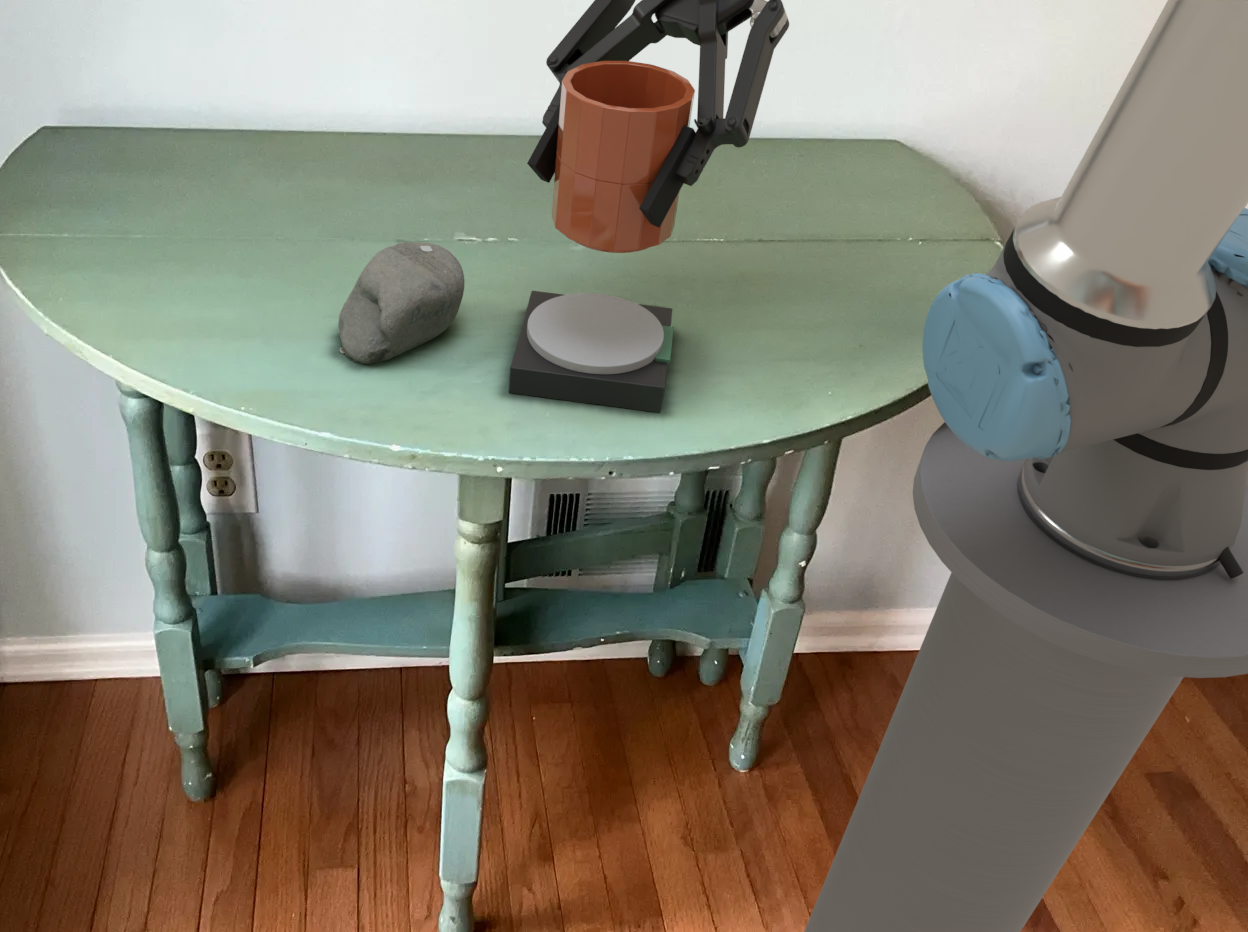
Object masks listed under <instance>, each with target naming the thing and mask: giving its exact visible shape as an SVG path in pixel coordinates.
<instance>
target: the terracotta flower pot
mask: <svg viewBox="0 0 1248 932" xmlns="http://www.w3.org/2000/svg"><path fill="white" fill-rule="evenodd" d="M695 94H696V89H695V88H694V87H693V85H692V84H691V82H690V80H689V79H687V78H686V77H684V76H682V75H680V73H679V74H678V73H677V72H675V71H673V70H671V69H668V68H664V67H661V66H657V65H655V64H651V63H644V62H636V61H631V60H629V61H599V62H593V63H587V64H582V65H580V66H578V67H576V68H573V69H571V70H569V71H568V72H567V73H566V75H565V77H564V78H563V80H562V89H561V102H560V115H559V127H558V140H557V153H556V166H555V173H554V180H553V192H552V204H551V206H552V207H551V219H552V221H553V224H554V228H555V229H556V230H557V231H559V232H560V233H561V234H562V235H563V236H565V237H566V238H567V239H569V240H571V241H572V242H575V243H576V244H578V245H580V246H583V247H585V248H587V249H590V250H594V251H598V252H602V253H603V252H604V253H613V254H626V253H629V254H630V253H635V252H641V251H644V250H648V249H650V248H653V247H657V246H660V245H661V244H663V243H664V242H665V241H666V240H668V239H670V238H671V237H672V235H673V231H674V228H675V224H676V217H677V216H676V215H677V211H678V204H679V199H680V198H679V197H680V191H681V190H680V191H679V193H678V195H677V197H676V198H675V200H674V202H673V204H672V206H671V208H670V209H669V211H668V213H667V215H666V217H665V219H664V220H663V222H662V224H661V226H660V228H659V227H657V226H654V225H652V224H650V222H649V221H648V220H647V218H646V217H645V216H644V214H643V213H642V211H641V210H640V209H639V208H640V206H641V204H642V202H643V200H644V198H645V197H646V195H647V193H648V191H649V189H650V187H651V186H652V184H653V182H654V180H655V178H656V176H657V174H658V173H659V171H660V169H661V167H662V165H663V163H664V162H665V160H666V158H667V156H668V154H669V152H670V151H671V149H672V147H673V145H674V143H675V141H676V140H677V138H678V136H679V134H680V132H681V130H682V129H683V127H684V125H685V126H688V127H690V125H691V120H692V113H693V106H694V100H695ZM690 128H691V127H690Z"/></svg>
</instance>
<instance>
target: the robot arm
mask: <svg viewBox="0 0 1248 932" xmlns="http://www.w3.org/2000/svg"><path fill="white" fill-rule="evenodd" d="M635 2H636V0H593V2H592V3H591V4H590V5H589V6H588V8H587V9H586V10H585V11H584V13H582V15H581V16H580V17H579V19H578V20H577V21H576V22H575V24H574V25H573V26H572V27H571V28H570V30H569V31H568V32H567V34H565V36H564V37H563V38H562V40H560V42H559V43H558V44H557V46H556V47H555V48H554V49H553V50H552V52H551V53H549V55H548V57H546V62H545V63H546V66H547V67H548V69H549V70H550V72H551V73H552V74H553V76H554V77H555V79H556V81H557V82H558V83H559V86H558V88H557V90H556V92H555V94H554V95H553V97H552V99H551V101H550V103H549V105H548V107H547V109H546V110H545V112H544V113H543V116H542V122H541V123H542V125H543V126H544V127H545V130H544V131H543V133H542V135H541V137H540V139H539V141H538V143H537V144H536V146H535V148H534V150H533V152H532V153H531V156H530V157H529V159H528V161H527V163H526V164H527V165H528V166H529V168H530V169H531V170H532V171H533V172H534V173H535V175H536V176H537V177H538V178H539V179H540V180H541V181H543V182H546V183H548V184H550V182H551V180H552V179H553V176H555V166H556V153H557V140H558V127H559V115H560V102H561V89H562V80H563V78H564V77H565V75H566V73H567V72H568V71H569V70H571V69H573V68H576V67H578V66H580V65H582V64H587V63H593V62H599V61H631V60H633V58H634V57H636V56H637V55H638V54H639V53H640V52H642V51H643V50H644V49H645V48H647V47H648V46H649V45H651V44H658V43H660V42H661V41H662V40H663V39H665V38H666V37H667V36H668V37H672V38H675V39H686V40H688V41H689V42H690V43H692V44H694V45H697V46H699V61H698V63H699V65H698V86H697V87H698V89H697V91H698V92H697V112H696V113H697V115H696V117H697V118H694V120H693V121H694V124H695V125H696V128H697V129H696V130H695V129H694V127H688V126H685V125H684V127H683V129H682V130H681V132H680V134H679V136H678V138H677V140H676V141H675V143H674V145H673V147H672V149H671V151H670V152H669V154H668V156H667V158H666V160H665V162H664V163H663V165H662V167H661V169H660V171H659V173H658V174H657V176H656V178H655V180H654V182H653V184H652V186H651V187H650V189H649V191H648V193H647V195H646V197H645V198H644V200H643V202H642V204H641V206H640V208H639V209H640V210H641V211H642V213H643V214H644V216H645V217H646V218H647V220H648V221H649V222H650V224H652V225H654V226H657V227H659V228H660V226H661V224H662V222H663V220H664V219H665V217H666V215H667V213H668V211H669V209H670V208H671V206H672V204H673V202H674V200H675V198H676V197H677V195H678V193H679V194H680V192H679V191H681V190H682V187H683V185H687V186H689V187H692V186H693V185H694V184H696V183H697V182H698V180H699V178H700V176H701V174H702V173H703V171H704V169H705V167H706V165H707V164H708V161H709V160H710V159H711V156H712V155H713V154H714V153H713V152H714V151H715V150H716V149H717V148H718V147H720V146H723V145H733V146H734V147H735V148H743V147H745V146H746V145H747V144H748V143H749V141H750V137H751V133H752V129H753V127H754V123H755V120H756V116H757V113H758V109H759V104H760V101H761V98H762V94H763V90H764V87H765V85H766V79H767V76H768V73H769V70H770V66H771V63H772V59H773V55H774V51H775V50H776V48H777V46H778V44H779V43H780V41H782V39H783V37H784V35H785V34H786V33H787V31H788V30H789V27H790V20H789V18H788V14H787V11H786V9H785V7H784V3H783V1H782V0H768V1H767V0H640V1H639V2H638V3H637V4H636V5H635V6H634V4H635ZM633 6H634V7H633ZM632 8H633V9H632ZM631 9H632V13H631V14H630V15H629V16H628V17H626V15H627V14H628V13H629V12H630V10H631ZM653 16H654V17H655V18H656V21H653V18H652V17H653ZM625 17H626V18H625ZM624 18H625V19H624ZM749 19H750V20H749ZM622 20H623V21H622ZM747 20H749V26H750V30H749V33H748V36H747V39H746V43H745V47H744V50H743V53H742V57H741V60H740V64H739V67H738V71H737V75H736V77H735V82H734V86H733V88H732V92H731V95H730V99H729V102H728V106H727V109H726V113H725V117H724V108H725V79H726V61H727V59H728V50H729V49H728V47H729V32H730V31H732V30H733V29H735V28H737V27H738V26H740V25H742V24H743V23H744V22H746V21H747ZM1247 205H1248V0H1166V3H1165V5H1164V6H1163V8H1162V10H1161V12H1160V14H1159V16H1158V17H1157V19H1156V21H1155V23H1154V25H1153V26H1152V29H1151V31H1150V32H1149V34H1148V36H1147V38H1146V40H1145V42H1144V43H1143V45H1142V47H1141V49H1140V51H1139V53H1138V55H1137V56H1136V58H1135V60H1134V62H1133V64H1132V66H1131V67H1130V70H1129V71H1128V73H1127V74H1126V77H1125V79H1124V80H1123V82H1122V84H1121V85H1120V87H1119V89H1118V91H1117V93H1116V95H1115V96H1114V99H1113V101H1112V102H1111V104H1110V106H1109V108H1108V110H1107V111H1106V113H1105V115H1104V117H1103V118H1102V121H1101V122H1100V125H1099V126H1098V128H1097V130H1096V131H1095V134H1094V135H1093V138H1092V139H1091V141H1090V143H1089V145H1088V147H1087V148H1086V150H1085V152H1084V154H1083V156H1082V158H1081V159H1080V161H1079V163H1078V165H1077V167H1076V169H1075V170H1074V172H1073V174H1072V175H1071V178H1070V180H1069V182H1068V183H1067V185H1066V187H1065V189H1064V191H1063V193H1062V194H1061V196H1059V197H1058V196H1057V197H1055V198H1050V199H1047V200H1043V201H1040V202H1038V203H1035V204H1034V205H1032V206H1030V207H1029V208H1027V209H1026V210H1025V211H1024V212H1023V213H1022V214H1021V215H1020V217H1019V218H1018V220H1017V221H1016V223H1015V225H1014V227H1013V229H1012V231H1011V233H1010V235H1009V237H1008V239H1007V241H1006V242H1005V244H1004V245H1003V248H1002V250H1001V252H1000V253H999V255H998V258H997V259H996V261H995V263H994V264H993V267H992V268H991V269H990V270H988V271H987V272H985V273H979V272H978V273H977V272H972V273H970V274H966V275H963V276H961V277H960V278H959V279H957V280H954V281H952V282H950V283H948V284H947V285H946V286H944V287H943V288H942V289H941V290H940V291H939V292H938V294H937V295H936V296H935V298H934V299H933V300H932V302H931V305H930V307H929V308H928V311H927V313H926V318H925V322H924V325H923V331H922V341H921V342H922V344H921V345H922V346H921V347H922V350H921V351H922V361H923V363H922V364H923V369H924V371H925V374H926V378H927V386H928V389H929V392H930V395H931V398H932V400H933V402H934V405H935V407H936V409H937V411H938V413H939V415H940V416H941V418H942V419H943V421H944V422H945V423H946V424H947V426H948V427H949V428H950V430H951V431H952V432H953V433H954V434H955V435H956V436H957V437H958V439H959V440H960V441H962V442H963V443H964V444H965V445H966V446H967V447H969V448H970V449H972V450H973V451H975V452H976V453H978V454H980V455H982V456H984V457H987V458H990V459H993V460H1000V461H1016V460H1022V459H1026V460H1025V462H1024V465H1023V467H1022V469H1021V472H1020V474H1019V477H1018V482H1017V491H1018V496H1019V499H1020V502H1021V504H1022V506H1023V508H1024V510H1025V511H1026V513H1027V515H1028V516H1029V517H1030V519H1031V520H1032V521H1033V522H1034V523H1035V525H1036V526H1037V527H1038V528H1039V529H1040V530H1041V531H1042V532H1044V533H1045V534H1046V535H1047V536H1048V537H1049V538H1051V539H1052V540H1053V541H1054V542H1056V543H1057V544H1059V545H1060V546H1062V547H1063V548H1065V549H1066V550H1068V551H1070V552H1071V553H1073V554H1075V555H1077V556H1079V557H1080V558H1082V559H1084V560H1087V561H1089V562H1091V563H1093V564H1096V565H1098V566H1101V567H1103V568H1106V569H1109V570H1112V571H1115V572H1118V573H1122V574H1126V575H1130V576H1135V577H1140V578H1146V579H1155V580H1180V579H1188V578H1193V577H1197V576H1200V575H1203V574H1206V573H1208V572H1210V571H1212V570H1213V569H1215V568H1216V567H1217V566H1219V565H1220V564H1222V566H1223V568H1224V569H1225V571H1226V572H1227V574H1228V576H1229V577H1230V578H1231V579H1232V578H1235V577H1237V576H1239V575H1241V574H1243V573H1244V572H1243V571H1242V569H1241V567H1240V566H1239V564H1238V563H1237V561H1236V559H1235V558H1234V556H1233V554H1232V553H1231V551H1230V549H1231V548H1232V546H1233V544H1234V543H1235V541H1236V537H1237V535H1238V532H1239V529H1240V526H1241V520H1242V513H1243V506H1244V498H1245V491H1246V484H1247V476H1248V207H1247ZM1246 207H1247V208H1246Z"/></svg>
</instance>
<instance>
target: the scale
mask: <svg viewBox="0 0 1248 932" xmlns="http://www.w3.org/2000/svg"><path fill="white" fill-rule="evenodd" d="M672 319H673V307H666V306H658V305H650V304H643V303H637V302H634V301H631V300H629V299H626V298H624V297H620V296H615V295H611V294H605V293H596V292H595V293H594V292H577V293H568V294H565V293H554V292H546V291H540V290H531V292H530V295H529V298H528V302H527V306H526V309H525V313H524V316H523V321H522V324H521V328H520V330H519V335H518V339H517V342H516V345H515V349H514V352H513V356H512V360H511V364H510V366H509V381H508V393H509V394H516V395H523V396H524V395H525V396H532V397H538V398H545V399H555V400H560V401H562V400H563V401H570V402H577V403H584V404H591V405H600V406H606V407H614V408H622V409H629V410H636V411H645V412H651V413H652V412H653V413H661V412H662V407H663V401H664V397H665V390H666V381H667V379H666V378H667V369H668V364H670V363H671V359H672V358H671V357H672V348H673V347H672V346H673V339H674V326H672Z"/></svg>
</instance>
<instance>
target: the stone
mask: <svg viewBox="0 0 1248 932" xmlns="http://www.w3.org/2000/svg"><path fill="white" fill-rule="evenodd" d="M358 276H359V277H358V278H357V280H356V282H355V284H354V286H353V288H352V290H351V291H350V293H349V295H348V296H347V299H346V301H345V302H344V304H343V305H342V307H341V310H340V312H339V316H338V323H337V324H338V330H339V339H340V342H341V347H339V352H340V353H341V354H345V355H346V357H347V358H349V359H352V360H353V362H354V363H360V364H363V365H368V364H369V365H370V364H376V363H380V362H386V361H389V360H391V359H394V358H396V357H398V356H401V355H403V354H404V353H406V352H408V351H410V350H412V349H415V348H416V347H419V346H421V345H423V344H425V343H428V342H429V341H431V340H433V339H434V338H436V337H438V336H439V335H441V334H442V333H444V332H445V331H446V330H447V329H448V328H449V327H450V326H451V325H452V323H453V322H454V320H455V319H456V317H457V315H458V312H459V310H460V306H461V304H462V301H463V296H464V293H465V274H464V270H463V267H462V265H461V263H460V261H459V259H458V258H457V257H456V255H454V254H453V253H452V252H451V251H450V250H448V249H447V248H445V247H443V246H441V245H439V244H435V243H431V242H422V241H404V242H398V243H396V244H394V245H391V246H387V247H385V248H383V249H381V250H379V251H378V252H376V254H375V255H374V256H372V258H371V259H370V260H369V261H368V262H367V264H366V265H365V266H364V268H363V270H362V271H361V273H360V274H359V275H358Z"/></svg>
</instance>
